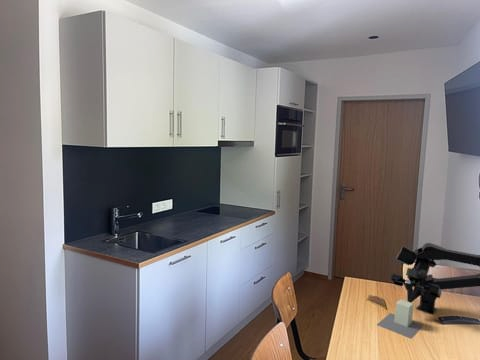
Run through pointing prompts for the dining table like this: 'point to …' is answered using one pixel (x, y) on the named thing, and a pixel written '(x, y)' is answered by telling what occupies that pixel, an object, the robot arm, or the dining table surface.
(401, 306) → the sage block
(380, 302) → the shard
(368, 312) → the dining table surface
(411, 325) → the rubber mat
